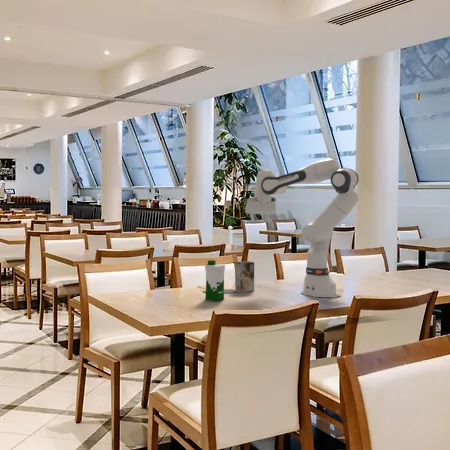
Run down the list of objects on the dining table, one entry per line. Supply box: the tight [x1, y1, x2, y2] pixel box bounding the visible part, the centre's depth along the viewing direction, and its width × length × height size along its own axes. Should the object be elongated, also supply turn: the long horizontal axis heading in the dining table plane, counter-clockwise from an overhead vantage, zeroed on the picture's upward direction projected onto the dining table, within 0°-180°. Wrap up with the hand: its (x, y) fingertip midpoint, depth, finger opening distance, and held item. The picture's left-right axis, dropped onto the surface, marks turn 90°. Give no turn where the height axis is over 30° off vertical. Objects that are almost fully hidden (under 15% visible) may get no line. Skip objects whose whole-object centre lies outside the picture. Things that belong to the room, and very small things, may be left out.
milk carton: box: [204, 259, 226, 302], centre depth 298 cm, size 9×9×20 cm
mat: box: [201, 288, 240, 295], centre depth 321 cm, size 10×18×1 cm, turn 113°
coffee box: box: [234, 260, 255, 293], centre depth 326 cm, size 9×6×16 cm
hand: (259, 221), depth 335 cm, fingers open, 8 cm apart
